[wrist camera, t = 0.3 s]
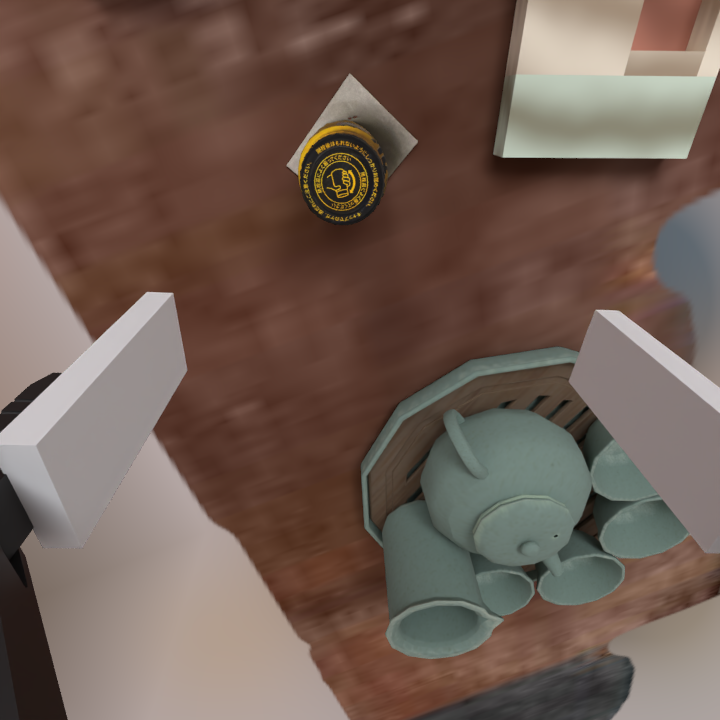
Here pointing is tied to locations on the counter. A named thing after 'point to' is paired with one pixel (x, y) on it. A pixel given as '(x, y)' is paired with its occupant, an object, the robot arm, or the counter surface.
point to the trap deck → (607, 78)
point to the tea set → (502, 501)
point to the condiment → (350, 156)
